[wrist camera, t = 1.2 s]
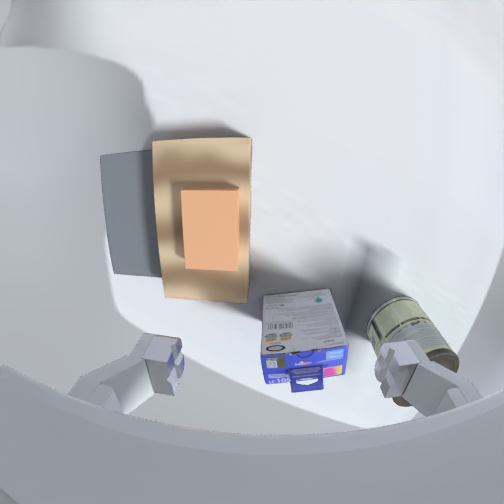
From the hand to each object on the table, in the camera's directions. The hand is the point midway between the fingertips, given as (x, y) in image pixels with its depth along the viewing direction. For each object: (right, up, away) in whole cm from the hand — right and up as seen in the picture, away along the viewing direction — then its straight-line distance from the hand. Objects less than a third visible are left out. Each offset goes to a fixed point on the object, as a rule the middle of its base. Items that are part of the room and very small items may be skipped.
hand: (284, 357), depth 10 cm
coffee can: (+22, -7, +30) cm, 38 cm away
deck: (-7, +9, +25) cm, 27 cm away
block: (-6, +7, +21) cm, 23 cm away
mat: (-17, +9, +25) cm, 32 cm away
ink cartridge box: (+5, -4, +29) cm, 30 cm away
